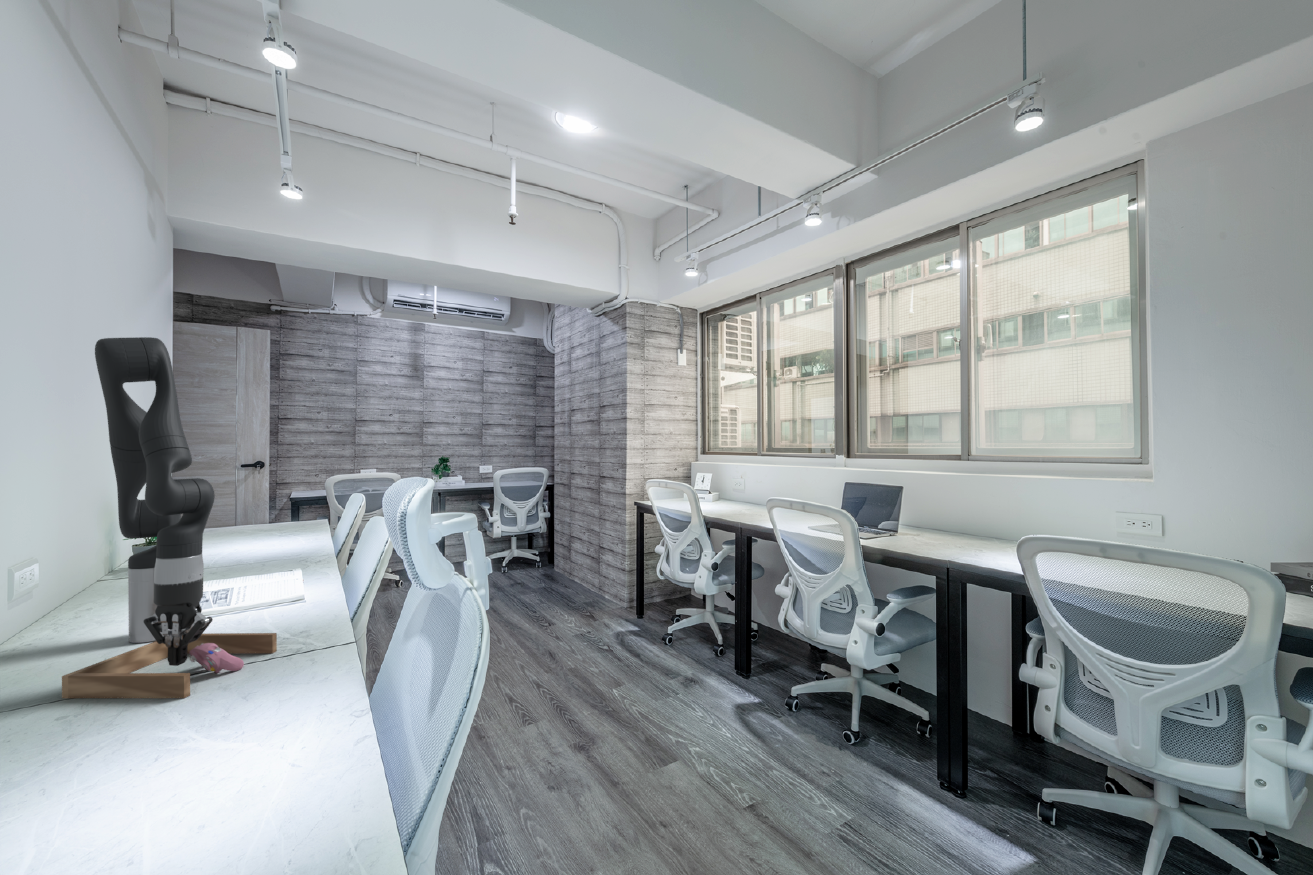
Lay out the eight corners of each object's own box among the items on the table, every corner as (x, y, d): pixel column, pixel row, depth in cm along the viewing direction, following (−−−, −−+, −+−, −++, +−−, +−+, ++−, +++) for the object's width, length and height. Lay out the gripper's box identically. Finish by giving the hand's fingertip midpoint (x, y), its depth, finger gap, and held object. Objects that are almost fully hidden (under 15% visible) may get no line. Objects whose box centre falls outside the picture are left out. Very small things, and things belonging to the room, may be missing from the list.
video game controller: (198, 675, 112) (179, 650, 109) (221, 658, 116) (203, 633, 113) (225, 683, 108) (206, 657, 105) (248, 665, 111) (230, 640, 108)
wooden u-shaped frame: (176, 651, 121) (176, 633, 122) (276, 651, 120) (276, 633, 120) (61, 698, 99) (61, 676, 99) (184, 698, 98) (184, 675, 98)
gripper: (226, 574, 113) (224, 658, 113) (166, 572, 114) (164, 655, 114) (193, 583, 106) (191, 673, 106) (129, 581, 107) (127, 670, 106)
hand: (177, 664), depth 110 cm, fingers closed
